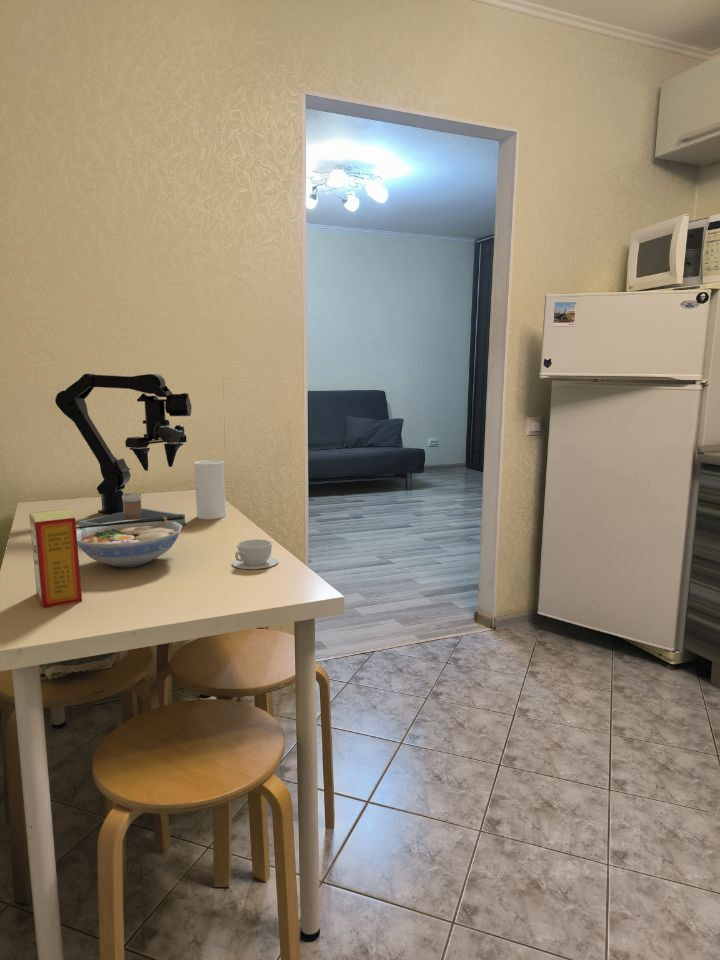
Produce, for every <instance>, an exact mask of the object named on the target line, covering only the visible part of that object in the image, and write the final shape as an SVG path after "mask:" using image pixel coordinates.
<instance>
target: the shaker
mask: <svg viewBox="0 0 720 960" xmlns="http://www.w3.org/2000/svg"><path fill="white" fill-rule="evenodd" d="M122 501H123V512H124V520H141V519H142V494H141V493H139V492H130V493H123V495H122Z"/></svg>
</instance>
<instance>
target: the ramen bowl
mask: <svg viewBox="0 0 720 960" xmlns="http://www.w3.org/2000/svg"><path fill="white" fill-rule="evenodd" d="M180 519H184V516H183V515H175V516H166V517H158V518H149V519H141V520H124V521H116V522H108V523H103V524H98V525H90V526H82V527H79V526H76V533H77V545H78V548H80V549H81V550H82V552H83V553H84V554H86V555H87V556H88V557H89V558H90V559H91V560H94V561H96V562H99V563H103V564H107V565H111V566H113V567H115V568H116V567H117V568H123V569H124V568H135V567H140V566H143V565H145V564H148V563H149V562H150V561H153V560H155V559H157V558H159V557H160V556H162V555H164V554H166V553H167V552H168V551H170V549H172V547H173V546H174V544H175V543H176V541H177V539H178V538H179V536H180V532H181V531H182V528H183V526H182V525H180V524H178V523H177V522H172V521H168V520H180ZM80 528H84V529H81V530H80ZM77 529H78V530H77Z"/></svg>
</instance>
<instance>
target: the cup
mask: <svg viewBox="0 0 720 960" xmlns="http://www.w3.org/2000/svg"><path fill="white" fill-rule="evenodd" d="M193 465H194V485H195V504H196V506H195V507H196V518H197V519H200V520H218V519H221V518H225V517H226V516H227V512H226V511H227V510H226V507H227V506H226V489H225V488H226V487H225V467H224V466H225V465H224V461H223V460H219V459H206V460H205V459H204V460H198V461H194V463H193Z"/></svg>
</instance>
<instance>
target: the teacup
mask: <svg viewBox="0 0 720 960" xmlns="http://www.w3.org/2000/svg"><path fill="white" fill-rule="evenodd" d="M272 545H273V542H271V541H270V540H266V539H259V538H258V539H248V540H243V541H240V542H238V543H237V551H235V554H234V556H235V557H234V558H235V560H234V561H232V563H231V565H232V567H235V568H238V569H242V570H259V569H266V568H270V567H273V566H276V565H277V564H279V560H278V559H277V558H275V557H273V556H271V554H272V548H273V547H272Z"/></svg>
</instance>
